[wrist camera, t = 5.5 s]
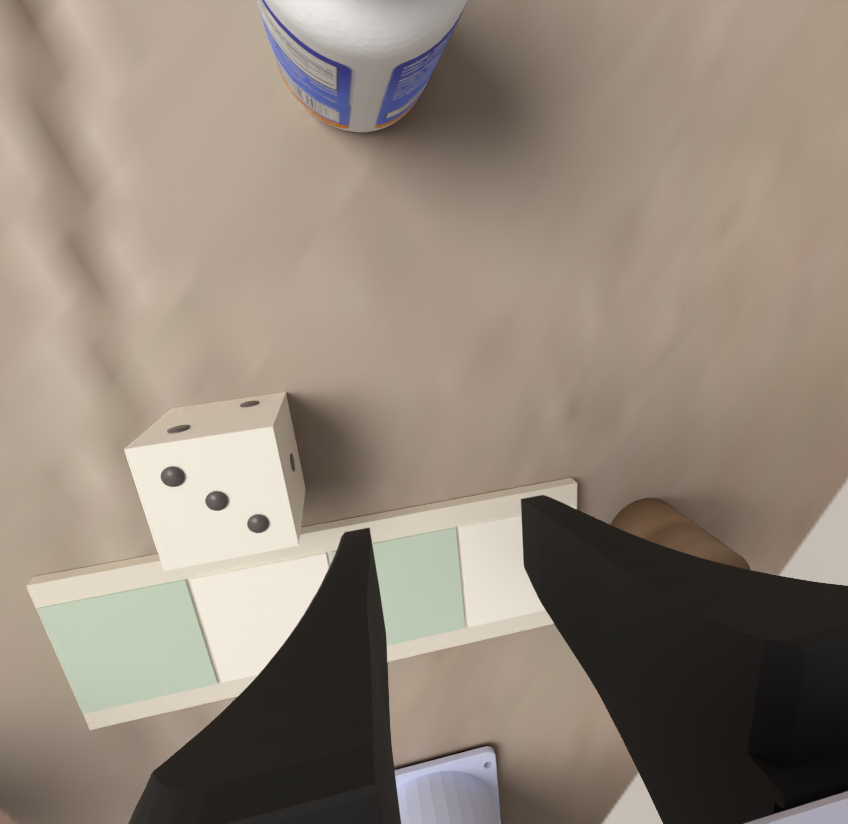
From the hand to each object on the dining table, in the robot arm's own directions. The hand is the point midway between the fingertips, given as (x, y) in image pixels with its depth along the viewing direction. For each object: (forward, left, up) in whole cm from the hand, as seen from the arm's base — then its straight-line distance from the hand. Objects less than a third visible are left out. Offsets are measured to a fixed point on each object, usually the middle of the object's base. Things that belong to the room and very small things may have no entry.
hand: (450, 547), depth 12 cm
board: (-8, +4, -9) cm, 13 cm away
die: (0, +7, -10) cm, 12 cm away
